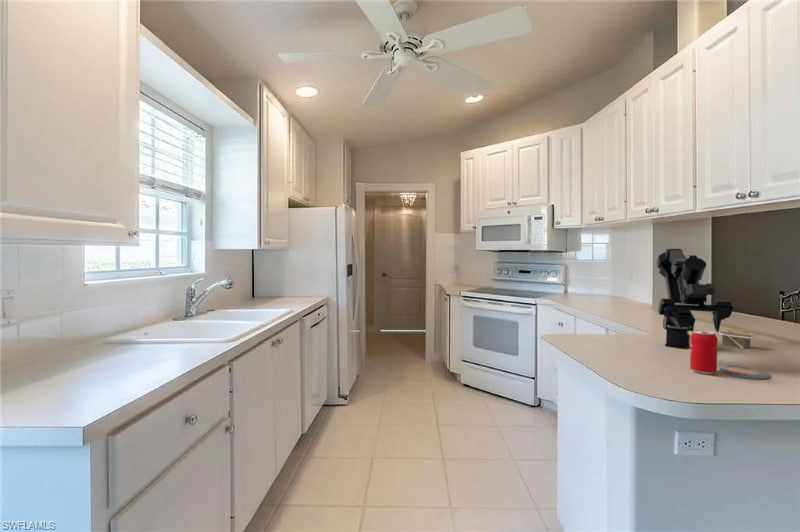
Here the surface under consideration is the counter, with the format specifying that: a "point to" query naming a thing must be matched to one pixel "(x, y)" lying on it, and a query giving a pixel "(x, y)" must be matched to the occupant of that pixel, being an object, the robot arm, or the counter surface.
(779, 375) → the counter surface
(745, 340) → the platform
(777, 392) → the counter surface
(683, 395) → the counter surface
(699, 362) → the beverage can
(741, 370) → the slate coaster
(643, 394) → the counter surface
